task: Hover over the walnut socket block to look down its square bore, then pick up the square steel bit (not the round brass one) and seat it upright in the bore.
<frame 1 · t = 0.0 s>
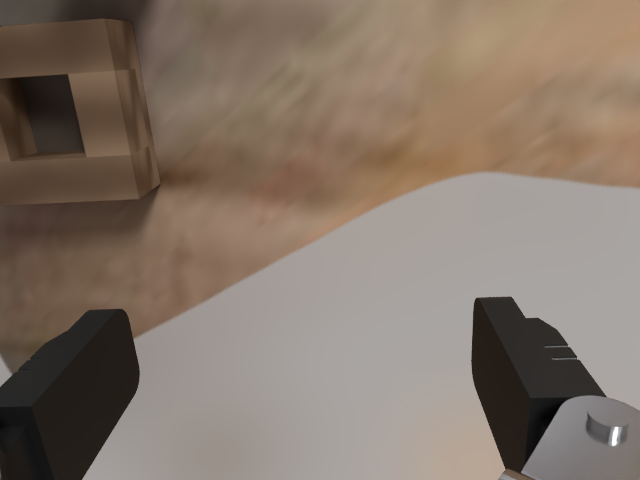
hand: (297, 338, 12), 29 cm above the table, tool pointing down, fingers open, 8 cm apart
socket block: (71, 111, 40), on the table
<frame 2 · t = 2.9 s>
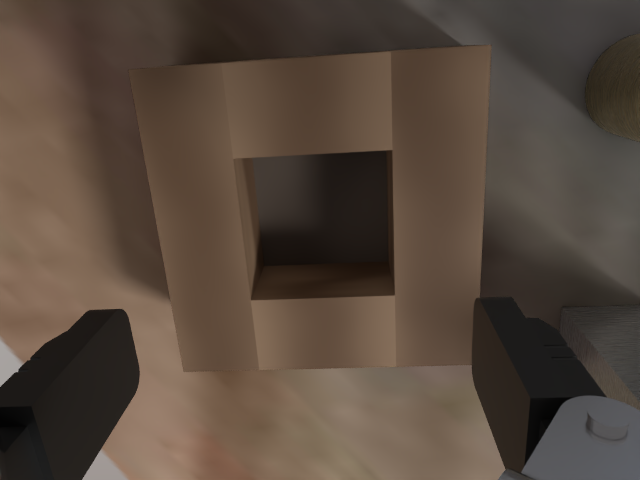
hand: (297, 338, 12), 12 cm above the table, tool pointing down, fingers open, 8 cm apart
socket block: (323, 196, 23), on the table
round bit: (636, 86, 21), on the table
square bit: (600, 342, 25), on the table
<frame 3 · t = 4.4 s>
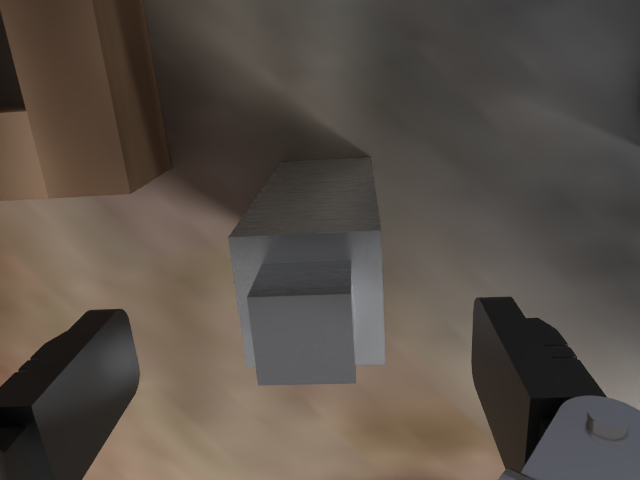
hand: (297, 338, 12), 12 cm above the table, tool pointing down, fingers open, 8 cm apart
socket block: (10, 36, 22), on the table
square bit: (328, 202, 23), on the table
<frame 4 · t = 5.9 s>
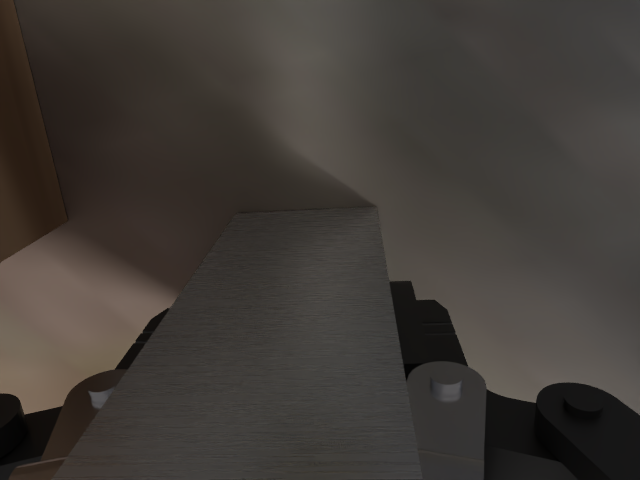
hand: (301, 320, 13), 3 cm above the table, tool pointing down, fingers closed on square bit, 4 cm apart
square bit: (310, 274, 15), on the table, touching gripper
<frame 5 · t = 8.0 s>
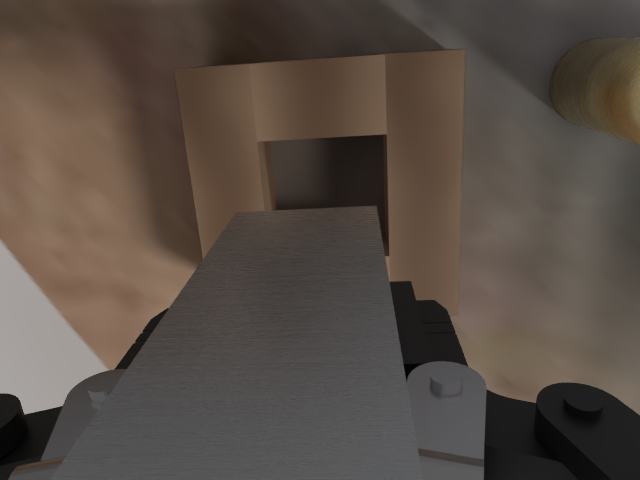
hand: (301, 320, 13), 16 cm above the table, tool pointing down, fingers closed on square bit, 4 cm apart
socket block: (329, 177, 27), on the table
round bit: (592, 83, 25), on the table
square bit: (310, 273, 15), point 13 cm above the table, touching gripper
when the fingers open (5 cm above the table, at t = 10.3 s): square bit drops 1 cm, resting on socket block.
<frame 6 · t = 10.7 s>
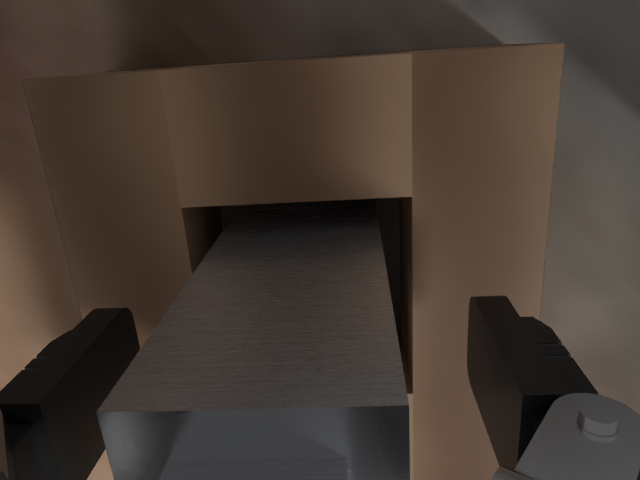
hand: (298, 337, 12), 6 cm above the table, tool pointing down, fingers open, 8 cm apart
socket block: (314, 244, 18), on the table
square bit: (313, 256, 17), point 1 cm above the table, touching socket block
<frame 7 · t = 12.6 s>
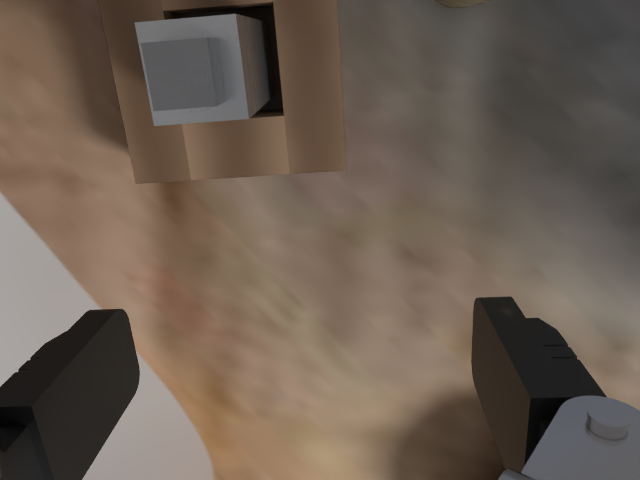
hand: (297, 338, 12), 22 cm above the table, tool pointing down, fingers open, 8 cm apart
socket block: (240, 61, 31), on the table
square bit: (237, 62, 30), point 1 cm above the table, touching socket block
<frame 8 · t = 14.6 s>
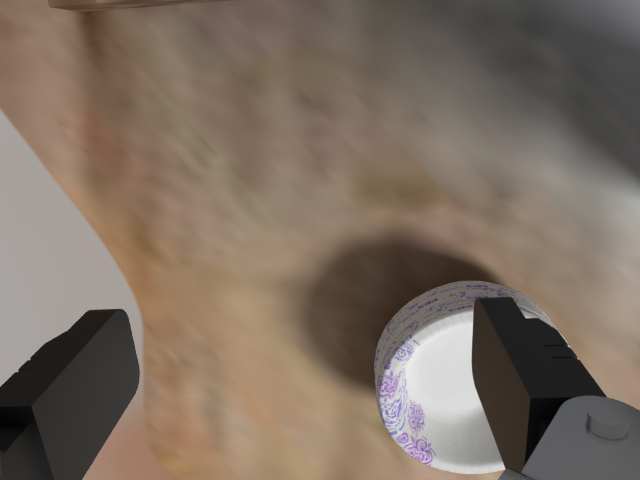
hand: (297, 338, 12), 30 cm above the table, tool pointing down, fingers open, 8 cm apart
white patterned bowl: (457, 341, 46), on the table
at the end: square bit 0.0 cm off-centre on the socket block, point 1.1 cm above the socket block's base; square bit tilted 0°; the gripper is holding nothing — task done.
